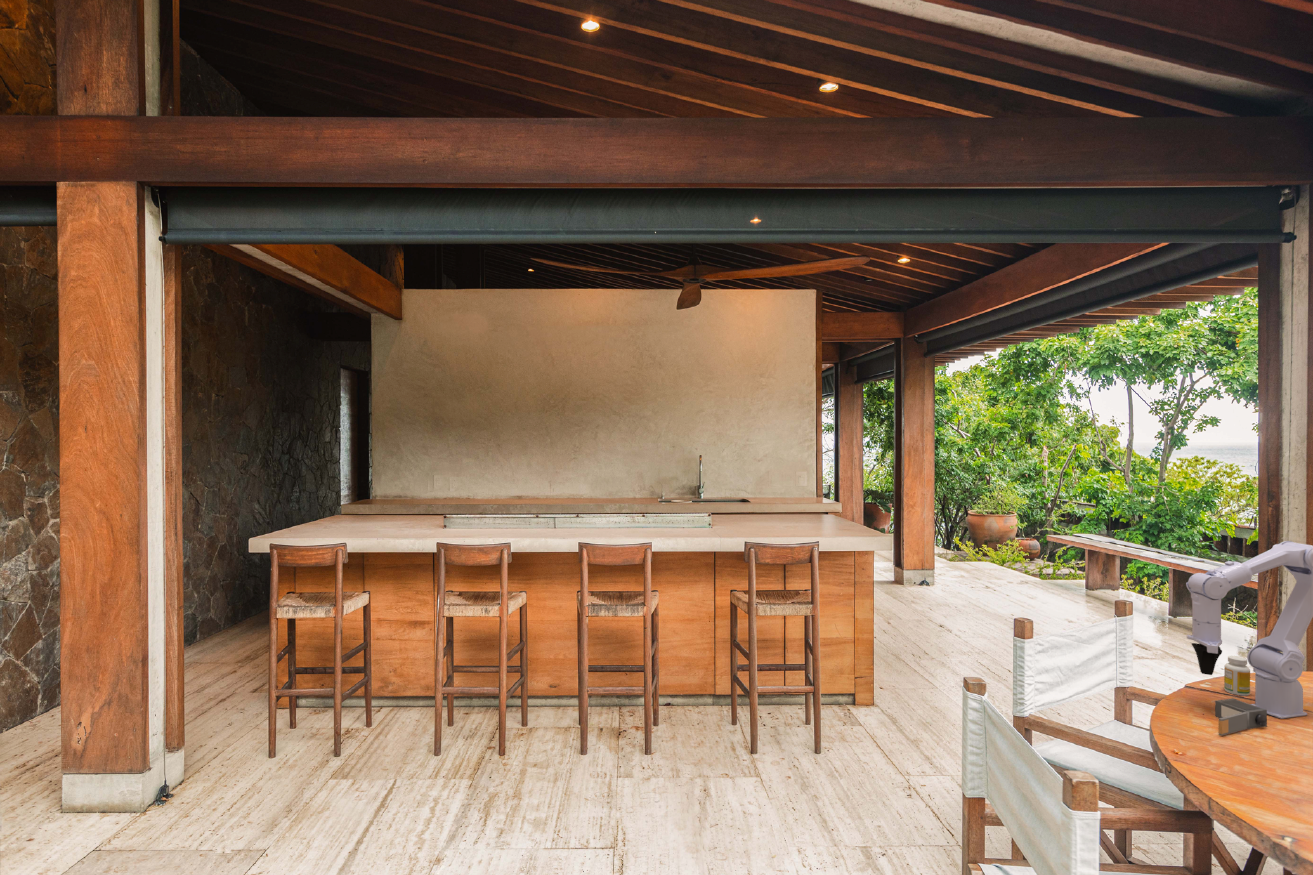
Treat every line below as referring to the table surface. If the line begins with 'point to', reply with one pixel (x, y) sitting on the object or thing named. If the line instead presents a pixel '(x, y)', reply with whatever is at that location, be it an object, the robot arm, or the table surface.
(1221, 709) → the camera body
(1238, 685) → the supplement bottle
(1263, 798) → the table surface
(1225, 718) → the side door
